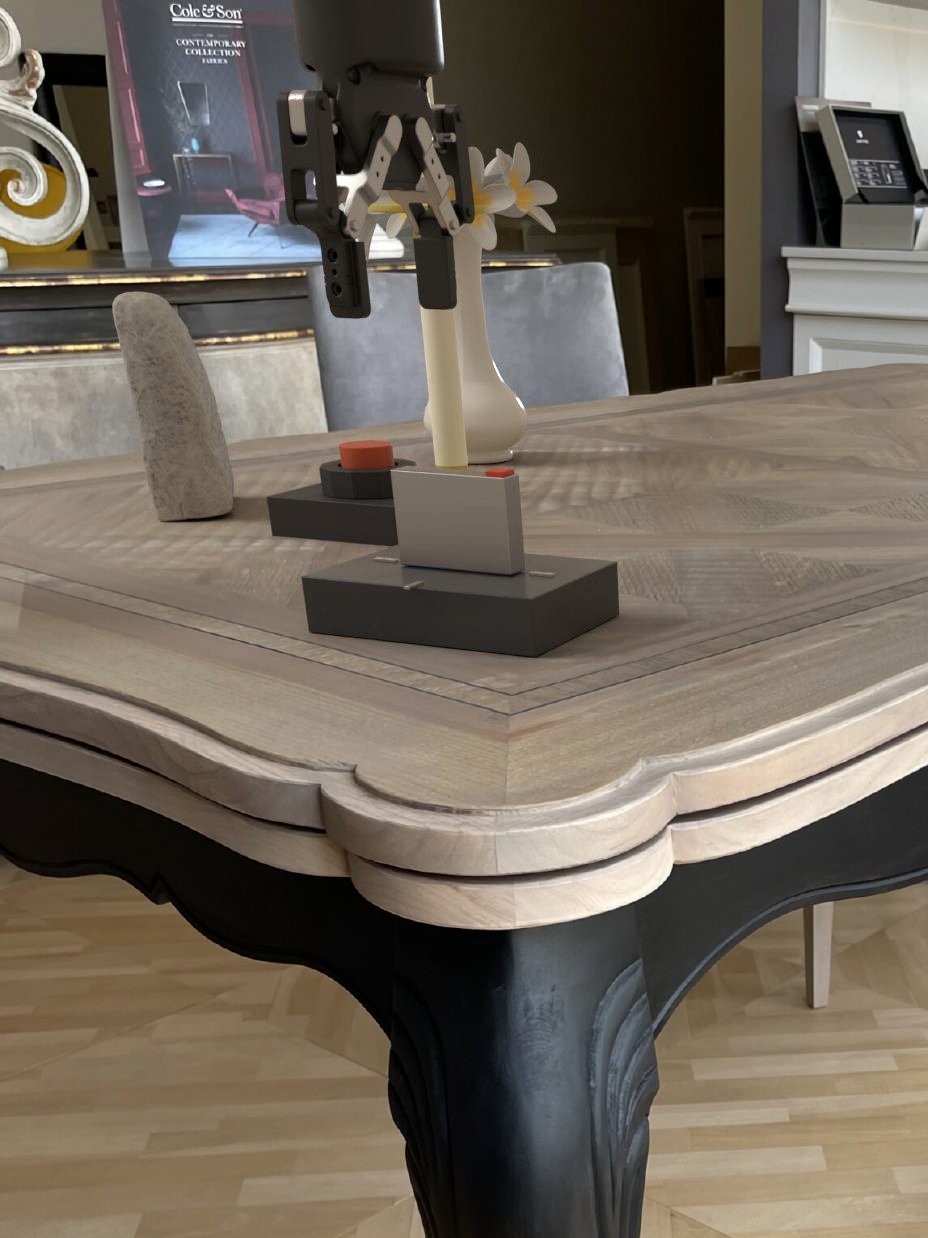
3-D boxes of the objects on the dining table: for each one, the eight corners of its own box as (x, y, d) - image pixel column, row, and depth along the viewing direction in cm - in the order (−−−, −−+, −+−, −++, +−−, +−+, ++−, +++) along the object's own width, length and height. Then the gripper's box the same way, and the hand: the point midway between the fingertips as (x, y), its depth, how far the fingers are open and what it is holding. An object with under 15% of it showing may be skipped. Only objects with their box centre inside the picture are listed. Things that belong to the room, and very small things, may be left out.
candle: (395, 488, 124) (334, -74, 106) (519, 486, 125) (479, -70, 107) (384, 510, 115) (315, -99, 97) (517, 508, 117) (473, -94, 99)
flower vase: (359, 455, 140) (321, 141, 128) (554, 446, 146) (535, 145, 134) (380, 476, 130) (341, 136, 118) (590, 465, 136) (573, 141, 124)
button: (331, 472, 105) (328, 445, 104) (361, 465, 108) (358, 439, 107) (376, 475, 104) (372, 448, 103) (405, 468, 107) (402, 442, 106)
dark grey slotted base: (301, 634, 82) (293, 575, 81) (414, 591, 92) (408, 537, 90) (530, 660, 78) (525, 598, 77) (624, 612, 87) (622, 556, 86)
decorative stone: (170, 498, 119) (133, 286, 112) (249, 497, 120) (217, 286, 113) (143, 524, 110) (101, 294, 103) (229, 522, 111) (193, 294, 104)
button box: (272, 536, 106) (261, 468, 104) (347, 515, 114) (339, 451, 111) (407, 548, 103) (399, 478, 101) (475, 525, 110) (470, 460, 108)
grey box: (400, 565, 84) (389, 464, 81) (416, 559, 85) (405, 460, 83) (511, 575, 82) (503, 473, 79) (526, 569, 83) (518, 468, 80)
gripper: (382, -15, 85) (412, 305, 93) (210, -51, 74) (260, 318, 81) (498, -20, 83) (518, 309, 91) (339, -58, 71) (378, 324, 79)
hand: (396, 313), depth 86 cm, fingers open, 8 cm apart
